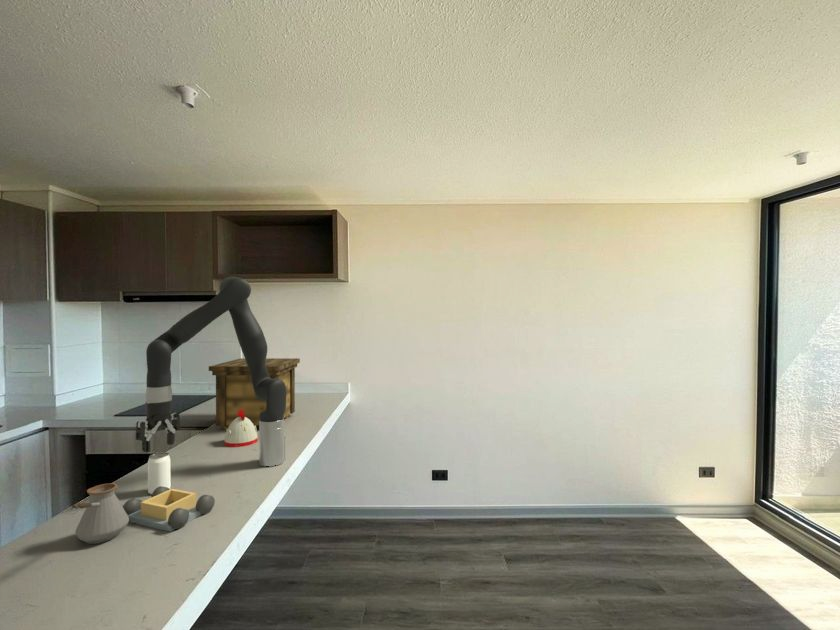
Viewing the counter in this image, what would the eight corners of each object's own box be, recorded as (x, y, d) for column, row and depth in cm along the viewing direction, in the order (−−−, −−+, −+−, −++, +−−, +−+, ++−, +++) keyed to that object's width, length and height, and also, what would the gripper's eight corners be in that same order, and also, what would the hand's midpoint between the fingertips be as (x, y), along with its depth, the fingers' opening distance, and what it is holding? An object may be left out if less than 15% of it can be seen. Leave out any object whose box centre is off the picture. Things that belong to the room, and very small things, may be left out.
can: (150, 488, 142) (150, 453, 142) (172, 485, 144) (172, 450, 144) (145, 496, 136) (145, 459, 136) (168, 493, 138) (168, 457, 138)
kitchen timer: (229, 449, 183) (229, 414, 183) (221, 441, 194) (220, 409, 193) (261, 442, 192) (261, 410, 192) (251, 436, 202) (251, 404, 202)
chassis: (166, 499, 134) (165, 483, 134) (214, 509, 127) (214, 492, 127) (121, 520, 121) (121, 502, 121) (173, 532, 114) (173, 514, 114)
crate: (209, 431, 210) (208, 366, 210) (240, 414, 245) (240, 358, 245) (278, 431, 209) (278, 366, 209) (300, 414, 244) (299, 358, 244)
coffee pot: (88, 528, 116) (87, 474, 116) (135, 522, 119) (135, 469, 119) (42, 574, 96) (41, 509, 96) (101, 566, 99) (100, 503, 99)
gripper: (169, 395, 148) (169, 441, 148) (129, 402, 135) (129, 453, 135) (185, 396, 145) (185, 443, 145) (146, 404, 132) (146, 456, 132)
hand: (158, 448), depth 140 cm, fingers open, 8 cm apart
